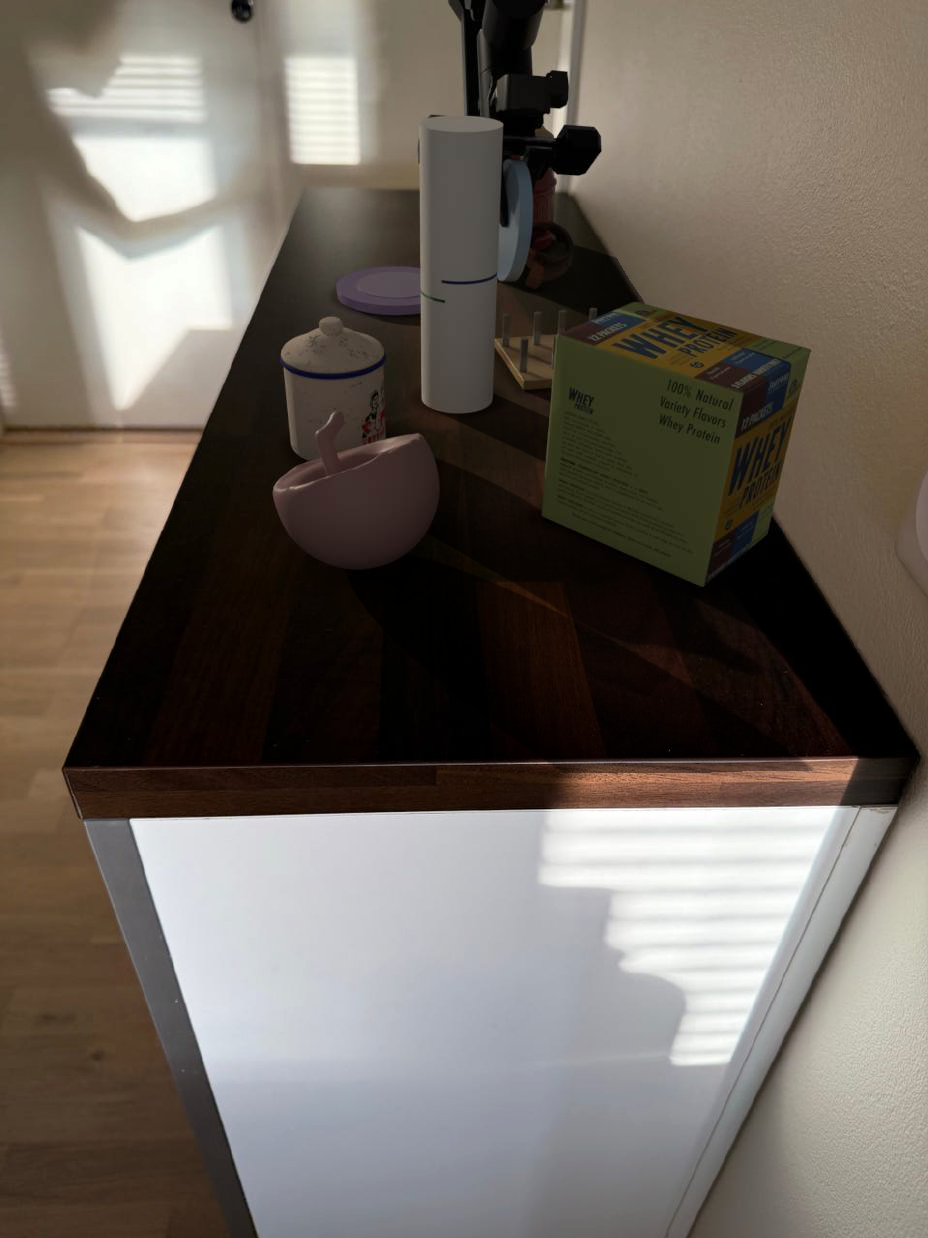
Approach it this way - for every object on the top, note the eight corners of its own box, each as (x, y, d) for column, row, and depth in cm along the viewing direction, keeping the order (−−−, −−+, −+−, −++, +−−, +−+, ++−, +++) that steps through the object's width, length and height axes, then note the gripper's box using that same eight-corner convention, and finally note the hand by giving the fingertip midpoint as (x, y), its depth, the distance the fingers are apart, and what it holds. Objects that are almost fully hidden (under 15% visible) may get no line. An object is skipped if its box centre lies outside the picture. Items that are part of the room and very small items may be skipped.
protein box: (705, 590, 72) (745, 392, 63) (538, 517, 80) (552, 332, 71) (770, 534, 78) (816, 347, 69) (610, 472, 86) (631, 296, 77)
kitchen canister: (449, 233, 145) (450, 100, 134) (528, 226, 149) (535, 95, 138) (485, 259, 135) (489, 117, 125) (568, 250, 139) (579, 112, 129)
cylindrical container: (485, 416, 95) (495, 134, 80) (414, 409, 96) (410, 128, 81) (498, 387, 101) (509, 118, 86) (430, 380, 102) (429, 113, 87)
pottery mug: (559, 268, 134) (581, 221, 127) (555, 320, 130) (578, 275, 123) (475, 244, 132) (492, 195, 125) (468, 296, 127) (486, 249, 120)
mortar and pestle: (359, 500, 82) (352, 369, 75) (471, 551, 76) (474, 414, 69) (248, 560, 74) (229, 421, 67) (362, 622, 68) (354, 476, 61)
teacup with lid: (385, 469, 86) (381, 340, 79) (282, 467, 86) (268, 338, 79) (392, 410, 96) (389, 291, 89) (299, 409, 96) (289, 289, 89)
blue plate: (484, 252, 112) (500, 142, 104) (496, 253, 113) (512, 142, 104) (507, 300, 104) (526, 184, 96) (520, 300, 104) (540, 184, 96)
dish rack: (494, 346, 110) (495, 306, 107) (587, 340, 112) (591, 300, 109) (523, 390, 100) (525, 347, 98) (624, 382, 102) (629, 340, 100)
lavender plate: (354, 271, 130) (354, 261, 129) (465, 279, 128) (466, 269, 127) (321, 309, 118) (321, 299, 117) (444, 319, 116) (444, 308, 115)
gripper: (433, 23, 93) (441, 185, 93) (617, 41, 98) (625, 196, 97) (413, 88, 104) (420, 234, 104) (579, 102, 109) (586, 241, 108)
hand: (513, 226), depth 103 cm, fingers closed on blue plate, 1 cm apart
